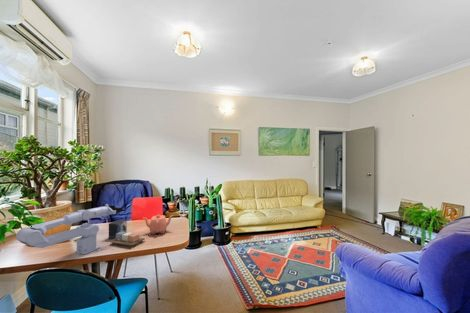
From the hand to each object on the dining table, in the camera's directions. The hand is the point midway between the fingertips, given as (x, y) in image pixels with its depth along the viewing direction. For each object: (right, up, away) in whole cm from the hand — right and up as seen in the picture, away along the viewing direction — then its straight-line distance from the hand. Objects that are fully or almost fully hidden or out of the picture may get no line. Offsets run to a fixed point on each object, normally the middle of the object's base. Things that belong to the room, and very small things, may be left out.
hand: (118, 208), depth 145 cm
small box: (-2, -21, +4) cm, 21 cm away
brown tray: (+11, -20, -9) cm, 25 cm away
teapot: (+24, -21, +10) cm, 33 cm away
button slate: (+6, -18, -7) cm, 20 cm away
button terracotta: (+16, -18, -11) cm, 26 cm away
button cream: (+11, -18, -9) cm, 23 cm away
